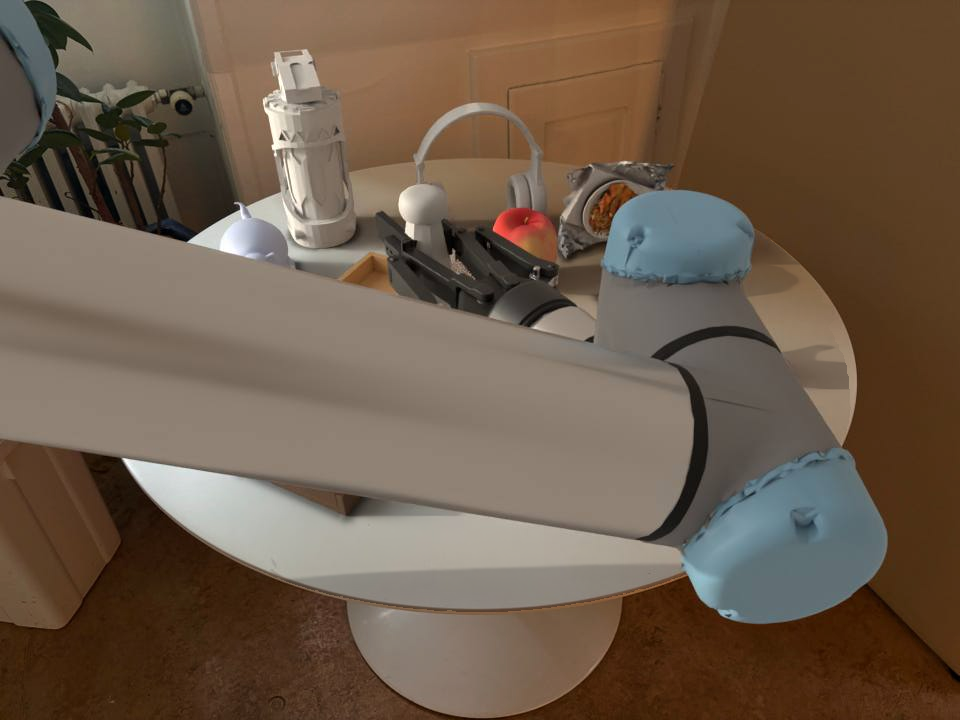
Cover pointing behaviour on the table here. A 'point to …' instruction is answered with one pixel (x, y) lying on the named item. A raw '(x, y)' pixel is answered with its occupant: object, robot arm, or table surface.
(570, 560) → the table surface
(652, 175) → the meal
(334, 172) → the lantern
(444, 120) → the headphones
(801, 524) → the robot arm
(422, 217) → the salt shaker
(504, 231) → the apple
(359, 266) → the pale tray
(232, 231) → the hippopotamus toy
